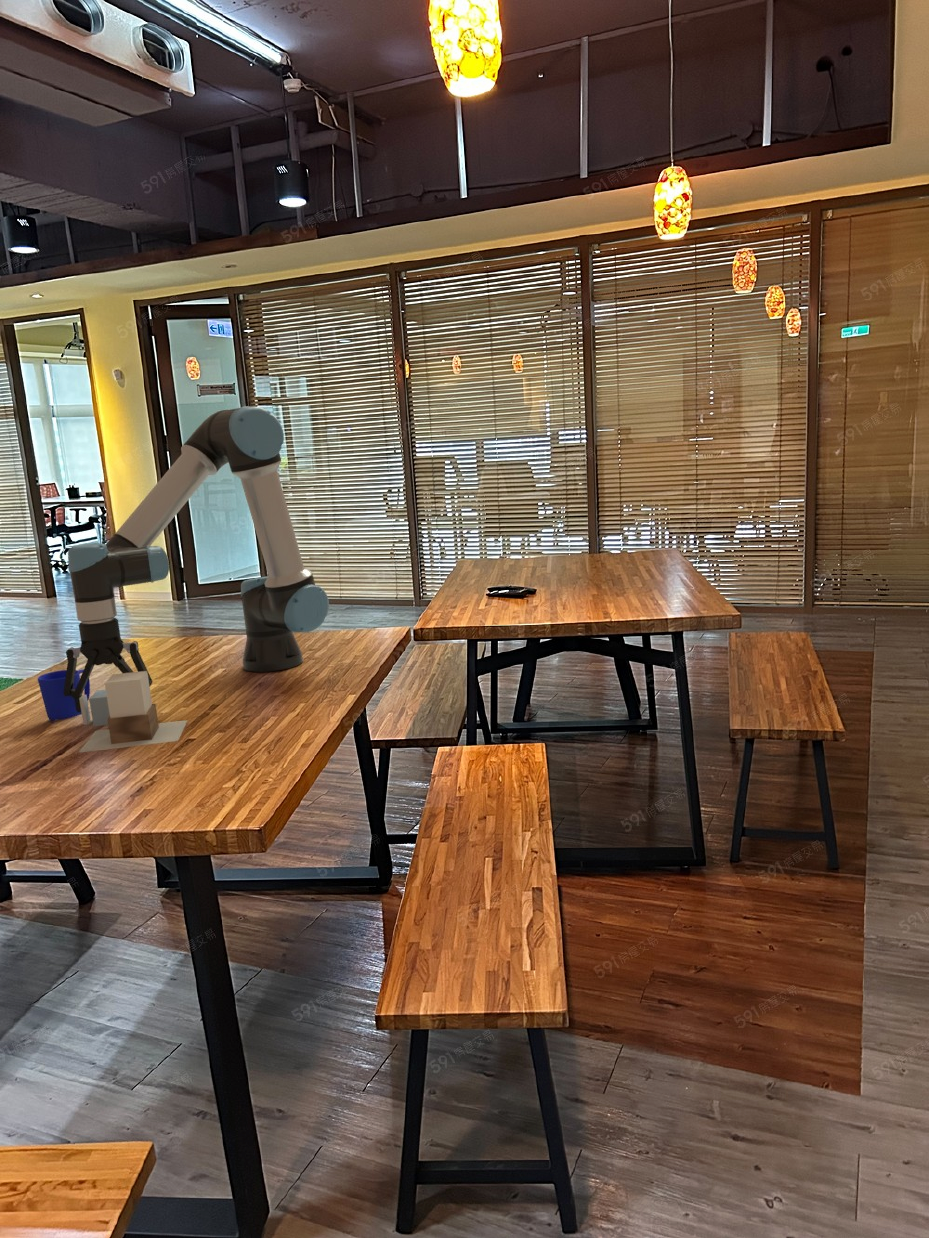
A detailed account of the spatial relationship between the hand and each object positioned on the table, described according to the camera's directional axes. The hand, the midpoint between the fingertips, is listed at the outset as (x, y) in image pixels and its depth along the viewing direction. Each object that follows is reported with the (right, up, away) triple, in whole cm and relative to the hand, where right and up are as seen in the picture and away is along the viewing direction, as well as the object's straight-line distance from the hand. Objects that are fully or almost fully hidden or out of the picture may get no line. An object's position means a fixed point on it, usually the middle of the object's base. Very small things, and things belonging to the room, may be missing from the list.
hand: (114, 723), depth 179 cm
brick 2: (+9, +4, -13) cm, 16 cm away
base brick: (+9, -1, -12) cm, 15 cm away
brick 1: (0, 0, 0) cm, 0 cm away
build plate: (+9, -2, -11) cm, 15 cm away
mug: (-12, 0, +8) cm, 15 cm away
